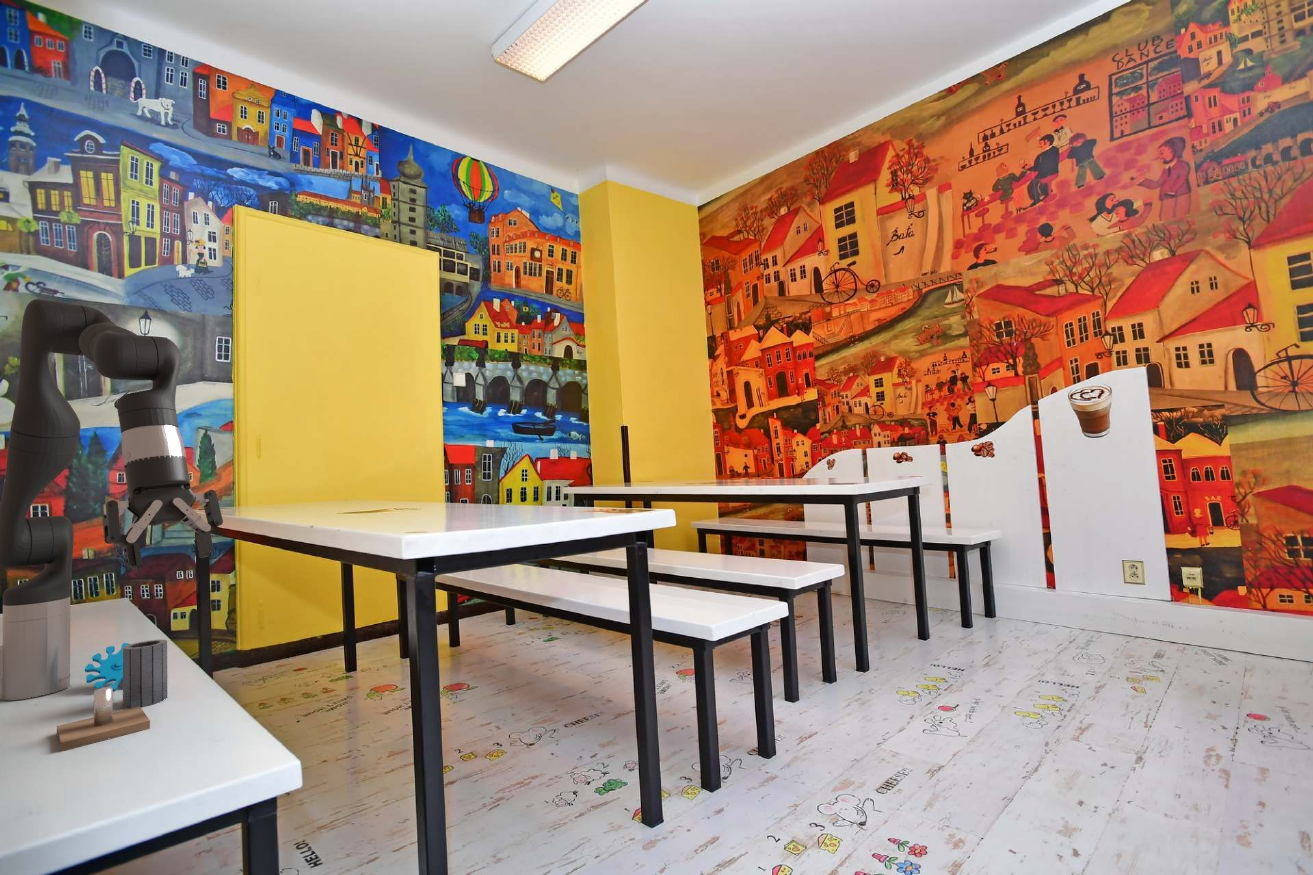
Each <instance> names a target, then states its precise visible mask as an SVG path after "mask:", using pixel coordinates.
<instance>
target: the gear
mask: <svg viewBox="0 0 1313 875" xmlns="http://www.w3.org/2000/svg"><path fill="white" fill-rule="evenodd" d="M127 645H130V643H128V642H123V643H122V644H121V648H120V650H118V652H116V653H114V652H115V650H116V647H115V645H110V646H106V648H105V652H106V654H107V657H106V658H105V659H102V654H101V653H100V652H98V653H96V654H94V655H92V657H91V660H92V661H93V662H96V663H99V666H97V667H95V666H94V664H93V663H88V664H87V665H86V666H85V667H84V672H85V673H91V672H92V673H93V672H95V673H98V674H97V675H95V674H92V673H91V674H87V675H86V676H85V679H86V680H85V681H86V684H90V683H93V682H94V683H93V688H94V690H96V689H100V688H104V686H106V685H107V684H109V683H110V684H109V685H108V686H107V687H113V692H116V691H117V690H118V686H119V685H120V684H121V683H123V647H125V646H127ZM97 680H101V681H97ZM95 681H96V682H95ZM112 682H113V683H112ZM120 682H121V683H120Z"/></svg>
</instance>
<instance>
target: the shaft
mask: <svg viewBox="0 0 1313 875" xmlns="http://www.w3.org/2000/svg"><path fill="white" fill-rule="evenodd" d="M113 713H114V691H113V687H108V686H105V687H104V686H103V687H102V688H100V689H94V690H93V717H94V726H102V725H106V724H109V723H111V722H113Z"/></svg>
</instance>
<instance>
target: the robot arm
mask: <svg viewBox="0 0 1313 875" xmlns="http://www.w3.org/2000/svg"><path fill="white" fill-rule="evenodd" d="M19 352H20V353H19V354H20V356H19V374H18V383H17V392H16V397H15V403H14V409H13V414H12V419H11V422H10V423H11V425H10V429H9V430H10V432H9V438H8V446H7V455H6V468H5V476H4V483H3V489H2V494H1V499H0V568H5V569H8V568H20V567H29V566H39V565H40V566H41V565H44V568H43V570H42V571H40V572H39V573H38V574H36V575H35V576H33V577H32V578H30V579H28V580H26V581H23V582H21V583H19V584H15V585H13V586H10V587H8V588H6V589H5V590H4V592H3V593H2V645H0V700H3V701H4V700H5V701H17V700H24V699H31V697H32V698H36V697H42V696H45V695H50V694H53V693H56V692H59V691H62V690H65V689H67V688H69V687H70V686H71V588H72V587H71V586H72V574H73V572H72V569H73V554H74V541H75V535H74V534H75V533H74V527H73V523H72V521H71V520H70V518H68V517H67V516H64V515H50V516H47V515H45V516H35V517H34V516H31V517H30V516H29V517H27V515H28V513H29V510H30V508H31V506H32V505H33V503H34V502H35V500H36V499H37V498H38V496H39V495H40V494H41V493H42V492H43V491H44V490H45V488H48V486H49V485H51V483H53V481H55V480H56V479H57V478H59V476H60V475H61V474H63V473H64V471H65V470H66V469H67V468H68V467H69V466H70V465H71V464H72V462H73V461H74V460H75V458H76V455H77V450H78V445H79V439H80V434H81V421H80V419H79V417H78V415H77V413H76V412H75V410H74V408H73V407H72V405H71V404H70V402H69V401H68V400H67V399H66V397H65V396H64V394H63V393H62V392H61V390H60V389H59V387H58V386H57V384H56V382H55V380H54V378H53V376H52V374H51V370H50V366H49V365H50V364H49V354H50V353H53V354H61V355H71V356H81V357H82V356H84V357H85V358H87V359H88V360H89V361H91V362H93V363H94V364H95V368H96V370H97V372H98V373H99V375H101V376H102V377H105V378H107V379H111V380H120V381H151V382H152V388H149V389H147V390H140V391H134V392H130V393H126V394H124V395H123V394H122V395H121V396H120V397H119V399H118V400H117V404H116V408H117V415H118V416H117V417H118V421H119V428H120V434H121V436H120V437H121V441H120V442H121V444H120V445H121V454H122V455H121V456H122V460H123V467H124V473H125V479H126V487H127V491H128V492H127V493H128V498H127V500H124V501H123V500H120V501H117V500H115V499H111V500H109V501H106V502H104V504H102V506H101V512H102V527H103V540H104V541H103V542H104V543H106V544H108V545H110V544H114V545H119V546H121V547H122V549H123V555H124V560H125V561H124V562H125V566H126V567H127V568H131V570H132V571H139V570H141V569H143V567H144V566H143V565H144V563H143V558H142V552H141V545H140V543H139V542H137V540H138V539H139V537H140V536H141V534H142V533H143V531H145V529H146V528H147V527H148V526H150V527H157V526H159V525H162V524H166V525H167V524H169V525H171V524H176V523H179V522H180V523H182V524H183V525H185V526H187V527H189V528H190V529H192V530H193V531H194V532H195V533H197V534H196V535H195V540H196V544H197V550H198V556H199V558H200V559H204V558H207V557H208V558H209V557H210V554H211V553H212V552H213V551H214V545H213V539H212V533H211V532H212V530H214V529H216V528H217V527H220V526H221V525H224V524H223V523H224V520H223V516H222V512H221V508H220V504H219V499H218V496H217V495H218V494H217V492H216V490H214V489H208V490H206V491H205V492H197V493H194V491H193V489H192V487H191V480H190V472H189V467H188V461H187V456H186V455H187V451H186V448H185V445H184V441H183V436H182V435H181V432H180V428H179V420H178V415H177V410H176V393H177V385H178V379H179V374H180V369H181V364H182V354H181V351H180V349H179V347H178V346H177V345H176V344H175V342H173V340H171V339H169V338H167V337H164V336H163V337H162V336H154V335H153V336H151V335H139V334H137V333H135V332H133V331H132V330H129V329H127V328H124V327H121V326H120V325H116V324H115V322H113V321H112V320H111V318H110V317H108V315H106V314H105V313H104V312H102V311H101V310H99V309H97V308H94V307H90V306H85V305H81V304H80V305H79V304H75V303H74V304H73V303H67V302H60V301H56V300H48V299H42V298H39V299H38V298H36V299H32V300H30V301H29V302H28V303H27V305H26V307H25V309H24V313H23V316H22V322H21V333H20V351H19ZM196 501H197V503H198V504H199V506H201V507H203V509H204V512H205V518H206V521H205V520H204V519H203V518H202V516H201V515H200V514H199V513H197V511H195V509H193V508H192V507H193V506H194V504H195V502H196ZM125 509H127V510H128V511H129V512H130V513H132V514H133V516H135V518H134V520H133V521H132V523H131V525H130V526H129V527H128V530H126V533H125V534H124V533H121V526H120V524H121V523H120V516H122V515H123V514H124V512H125ZM41 695H42V696H41Z"/></svg>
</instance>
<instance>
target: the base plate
mask: <svg viewBox="0 0 1313 875" xmlns="http://www.w3.org/2000/svg"><path fill="white" fill-rule="evenodd" d="M150 729H151V720H150V719H149V717H148V715H147V714H146V713H145V711H144V710H143V708H142V707H140V706H139V707H135V708H126V709H123V710H119V711H115V712H114V711H113V722H111V723H109V724H106V725H102V726H94V716H93V717H90V718H89V717H88V718H85V719H81V720H77V721H72V722H67V723H64V724H60V725H56V735H57V736H56V737H57V739H58V743H59V747H60V751H61V752H64V751H68V750H72V749H75V747H76V748H80V747H83V745H84V746H87V745H91V744H93V743H92V742H95V743H98V742H97V741H99V742H101V741H100V740H103V741H106V739H107V740H109V739H108V738H111V739H114V738H117V736H118V737H121V736H125V735H129V734H133V733H137V732H141V731H144V730H150ZM90 743H91V744H90Z"/></svg>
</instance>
